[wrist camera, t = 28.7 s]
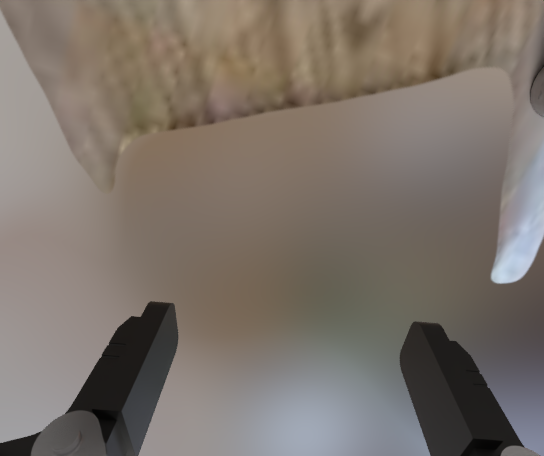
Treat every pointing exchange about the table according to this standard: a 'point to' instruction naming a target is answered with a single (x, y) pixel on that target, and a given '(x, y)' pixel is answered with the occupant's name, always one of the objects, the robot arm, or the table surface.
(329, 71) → the table surface
